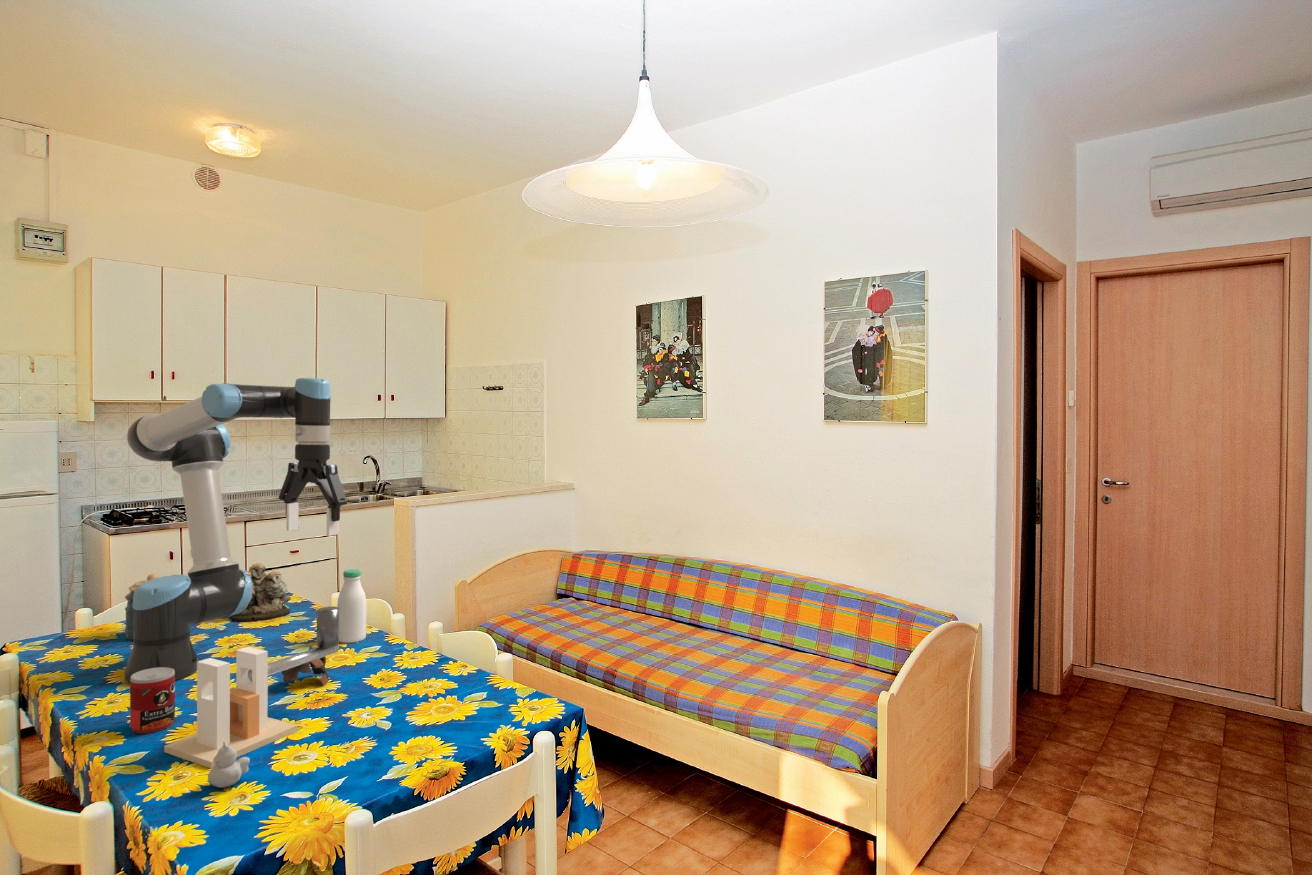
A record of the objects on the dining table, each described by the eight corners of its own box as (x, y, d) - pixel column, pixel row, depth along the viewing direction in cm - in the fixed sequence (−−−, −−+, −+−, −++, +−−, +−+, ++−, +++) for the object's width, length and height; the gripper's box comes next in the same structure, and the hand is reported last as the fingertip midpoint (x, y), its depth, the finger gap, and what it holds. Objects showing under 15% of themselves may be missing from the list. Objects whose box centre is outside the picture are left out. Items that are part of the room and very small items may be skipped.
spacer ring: (221, 730, 147) (221, 691, 147) (232, 726, 149) (233, 687, 149) (247, 739, 144) (247, 698, 144) (259, 734, 146) (259, 694, 146)
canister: (168, 625, 222) (168, 567, 221) (187, 633, 214) (187, 573, 214) (117, 635, 211) (117, 574, 211) (135, 644, 204) (135, 581, 203)
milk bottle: (371, 638, 213) (372, 569, 212) (348, 645, 206) (348, 574, 206) (355, 633, 217) (355, 566, 216) (331, 640, 210) (331, 570, 210)
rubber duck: (203, 785, 128) (203, 740, 128) (243, 772, 133) (244, 728, 133) (214, 796, 125) (214, 749, 125) (255, 782, 130) (255, 737, 129)
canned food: (141, 737, 146) (141, 682, 146) (122, 727, 151) (122, 674, 150) (182, 724, 153) (182, 671, 153) (163, 715, 157) (163, 664, 157)
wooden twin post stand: (164, 752, 140) (164, 664, 140) (251, 717, 157) (251, 638, 156) (211, 768, 134) (211, 676, 134) (297, 731, 150) (297, 649, 150)
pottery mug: (322, 692, 172) (302, 665, 170) (289, 707, 174) (269, 680, 172) (344, 663, 184) (325, 637, 182) (312, 677, 185) (294, 651, 183)
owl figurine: (230, 625, 223) (230, 570, 222) (223, 617, 232) (222, 563, 231) (294, 615, 235) (294, 562, 234) (284, 608, 243) (284, 557, 243)
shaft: (259, 682, 148) (259, 631, 147) (244, 679, 150) (244, 628, 149) (343, 653, 166) (343, 608, 166) (328, 650, 168) (329, 605, 168)
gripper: (262, 442, 176) (262, 530, 177) (337, 445, 165) (336, 539, 166) (290, 441, 183) (290, 526, 183) (363, 444, 172) (362, 534, 173)
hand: (312, 532), depth 175 cm, fingers open, 13 cm apart
